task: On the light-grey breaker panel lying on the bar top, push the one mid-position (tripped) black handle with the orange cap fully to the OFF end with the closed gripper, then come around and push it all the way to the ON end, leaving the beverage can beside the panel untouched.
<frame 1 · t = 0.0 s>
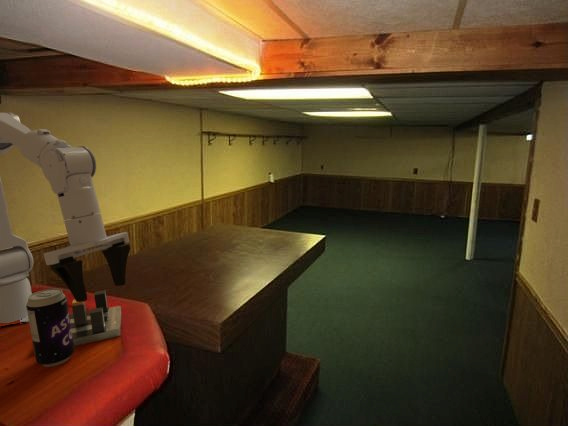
hand: (102, 292, 66), 11 cm above the table, tool pointing down, fingers open, 7 cm apart
beverage can: (56, 360, 65), on the table
tripped breaker: (79, 311, 74), point 4 cm above the table, slide at 0.0 cm
panel: (82, 330, 75), on the table
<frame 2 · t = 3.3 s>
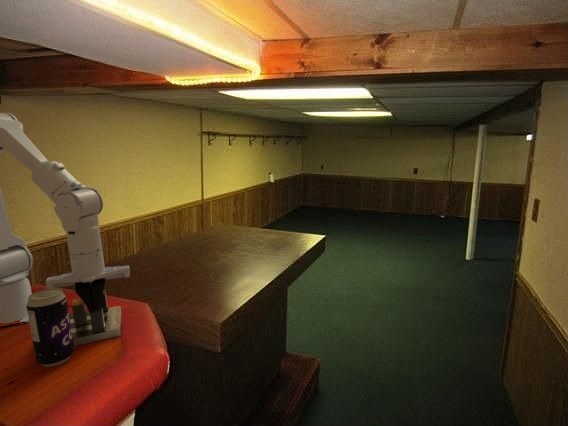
hand: (95, 316, 75), 2 cm above the table, tool pointing down, fingers closed
tripped breaker: (79, 311, 74), point 4 cm above the table, slide at 0.0 cm, touching gripper
everything else where it was.
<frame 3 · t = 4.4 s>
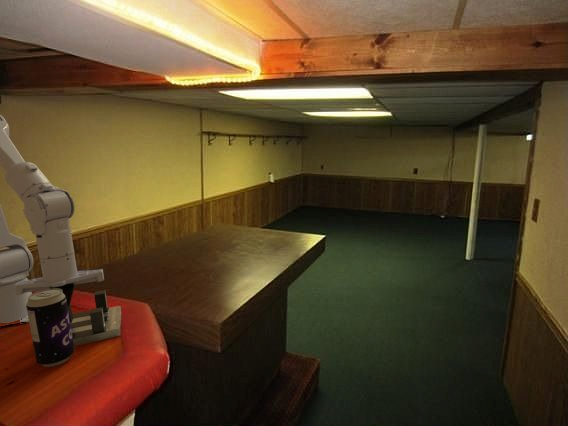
hand: (68, 321, 74), 3 cm above the table, tool pointing down, fingers closed
tripped breaker: (55, 316, 73), point 4 cm above the table, slide at -4.1 cm, touching gripper
everything else where it was.
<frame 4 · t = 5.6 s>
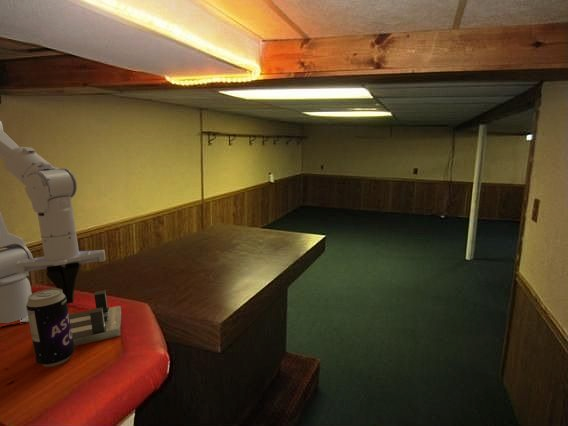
hand: (69, 301, 73), 6 cm above the table, tool pointing down, fingers closed
tripped breaker: (59, 315, 73), point 4 cm above the table, slide at -3.6 cm
everything else where it was.
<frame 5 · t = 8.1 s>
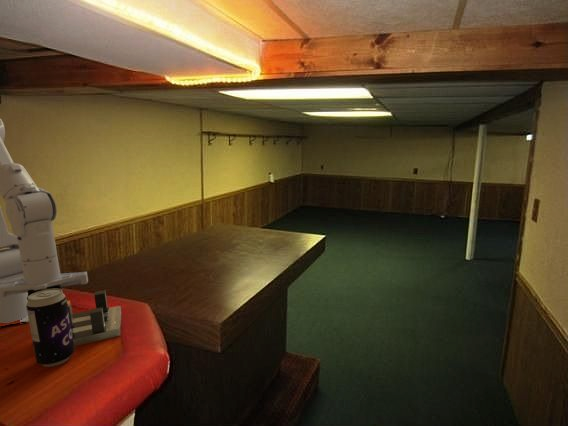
hand: (51, 324, 72), 3 cm above the table, tool pointing down, fingers closed
tripped breaker: (65, 314, 73), point 4 cm above the table, slide at -2.4 cm, touching gripper
everything else where it was.
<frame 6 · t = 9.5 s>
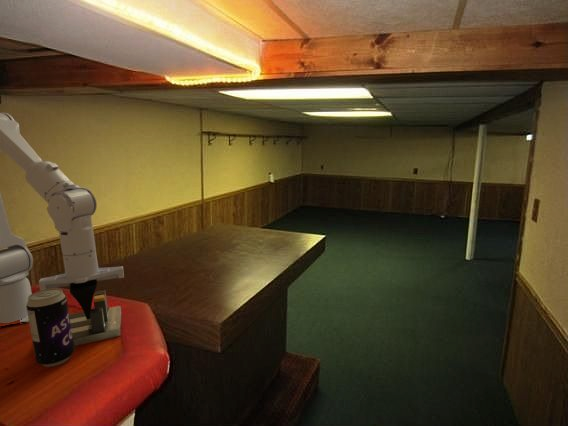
hand: (89, 317, 75), 3 cm above the table, tool pointing down, fingers closed
tripped breaker: (100, 307, 75), point 4 cm above the table, slide at 3.8 cm, touching gripper
everything else where it was.
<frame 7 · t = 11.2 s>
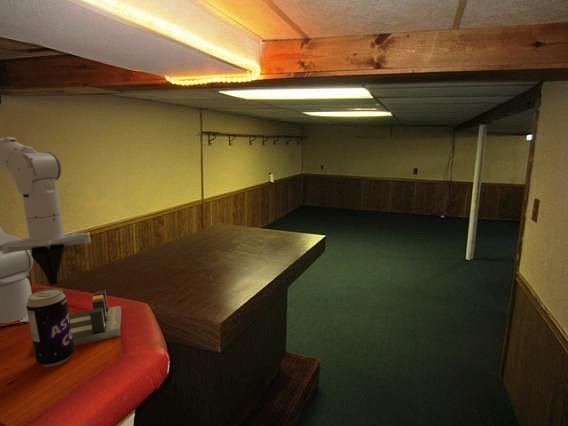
hand: (54, 282, 75), 10 cm above the table, tool pointing down, fingers closed
tripped breaker: (99, 307, 75), point 4 cm above the table, slide at 3.6 cm
everything else where it was.
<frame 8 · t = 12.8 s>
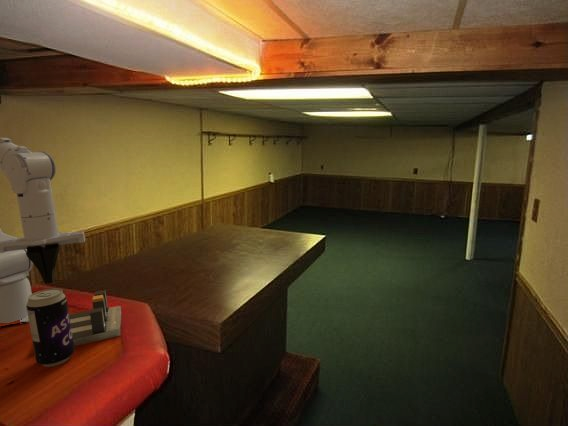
hand: (49, 282, 75), 10 cm above the table, tool pointing down, fingers closed
nothing on the table moved.
at the end: tripped breaker slide at 3.6 cm; beverage can tilted 0° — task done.
